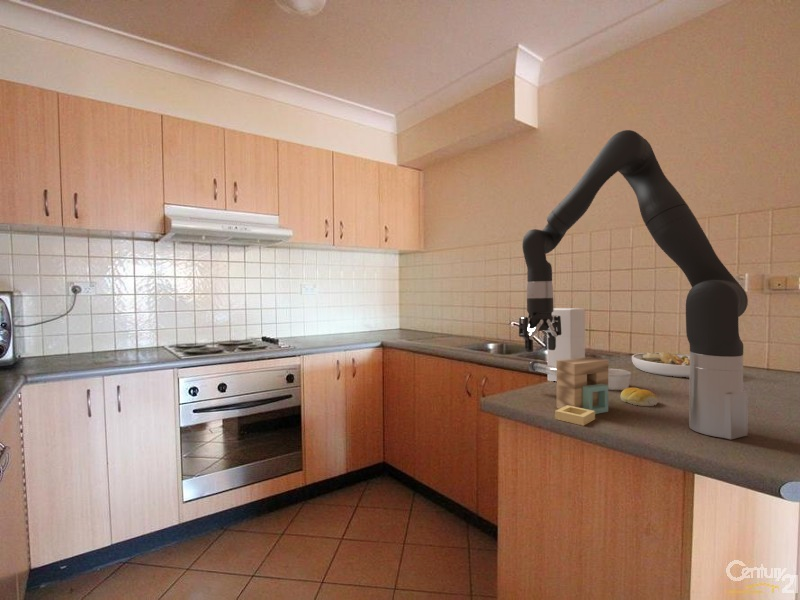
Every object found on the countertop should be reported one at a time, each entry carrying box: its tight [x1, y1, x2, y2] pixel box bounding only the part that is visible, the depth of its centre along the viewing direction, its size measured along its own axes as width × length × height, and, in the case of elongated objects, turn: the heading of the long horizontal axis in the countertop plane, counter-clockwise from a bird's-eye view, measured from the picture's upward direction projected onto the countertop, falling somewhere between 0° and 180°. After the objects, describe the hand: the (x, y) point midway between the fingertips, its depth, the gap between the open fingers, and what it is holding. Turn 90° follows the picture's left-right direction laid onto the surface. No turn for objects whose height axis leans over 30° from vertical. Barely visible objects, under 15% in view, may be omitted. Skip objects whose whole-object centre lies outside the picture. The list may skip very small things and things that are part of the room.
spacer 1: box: [554, 405, 596, 427], centre depth 97 cm, size 7×7×2 cm
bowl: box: [631, 351, 690, 379], centre depth 152 cm, size 30×30×8 cm
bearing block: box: [556, 356, 609, 409], centre depth 106 cm, size 6×12×13 cm, turn 113°
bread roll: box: [620, 387, 659, 407], centre depth 112 cm, size 8×9×4 cm
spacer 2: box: [583, 384, 609, 415], centre depth 102 cm, size 2×7×7 cm, turn 113°
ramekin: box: [608, 367, 632, 391], centre depth 129 cm, size 11×11×5 cm
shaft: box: [527, 360, 557, 376], centre depth 115 cm, size 19×3×3 cm, turn 23°
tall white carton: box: [547, 307, 586, 382], centre depth 137 cm, size 9×9×25 cm
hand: (540, 350), depth 120 cm, fingers open, 8 cm apart
